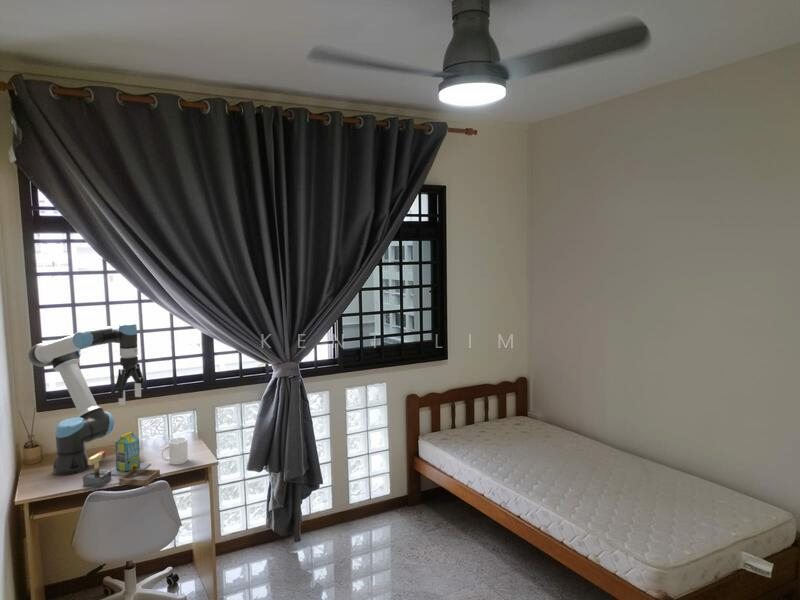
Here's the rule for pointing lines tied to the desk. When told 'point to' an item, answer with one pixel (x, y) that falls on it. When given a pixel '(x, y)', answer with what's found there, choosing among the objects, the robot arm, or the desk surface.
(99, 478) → the block
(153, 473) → the frame
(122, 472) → the mat
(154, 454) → the desk surface
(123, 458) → the carton
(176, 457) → the mug
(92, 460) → the key
